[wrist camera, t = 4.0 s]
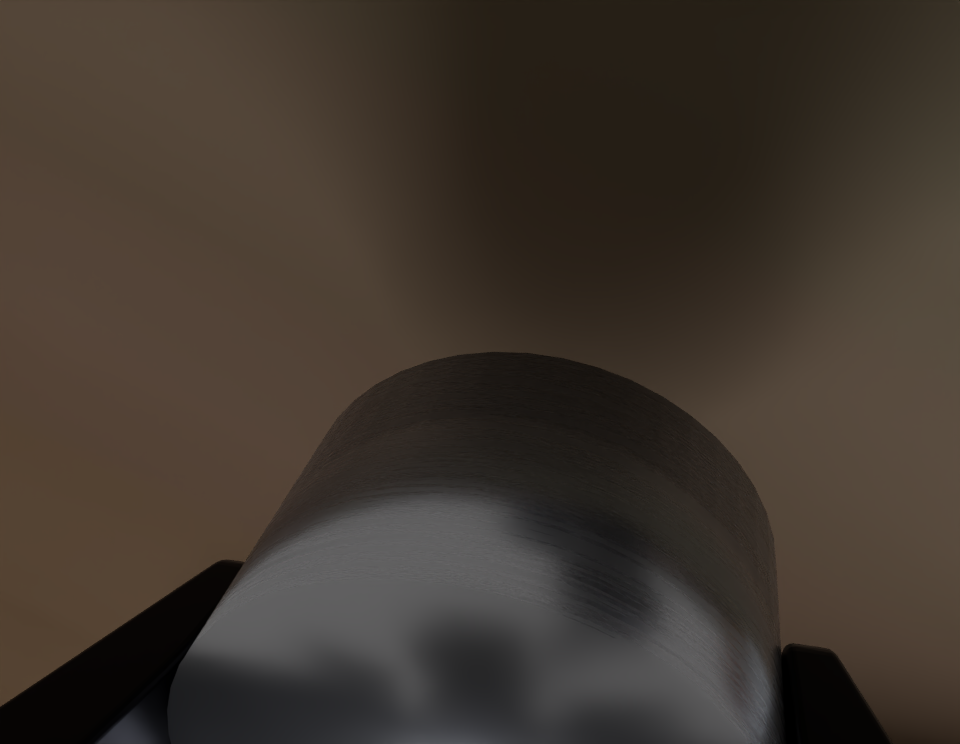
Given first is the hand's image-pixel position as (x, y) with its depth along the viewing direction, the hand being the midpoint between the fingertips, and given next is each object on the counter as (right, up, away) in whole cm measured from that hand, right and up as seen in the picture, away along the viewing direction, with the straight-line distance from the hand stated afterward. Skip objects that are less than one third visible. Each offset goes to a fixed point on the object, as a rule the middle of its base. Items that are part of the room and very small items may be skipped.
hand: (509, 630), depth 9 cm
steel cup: (0, +1, +1) cm, 1 cm away
